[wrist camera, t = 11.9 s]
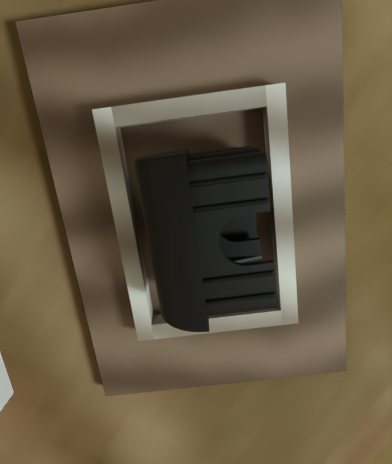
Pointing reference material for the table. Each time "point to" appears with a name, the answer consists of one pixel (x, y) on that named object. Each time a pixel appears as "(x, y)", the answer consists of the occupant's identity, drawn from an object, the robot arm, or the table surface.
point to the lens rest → (196, 141)
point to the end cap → (206, 233)
